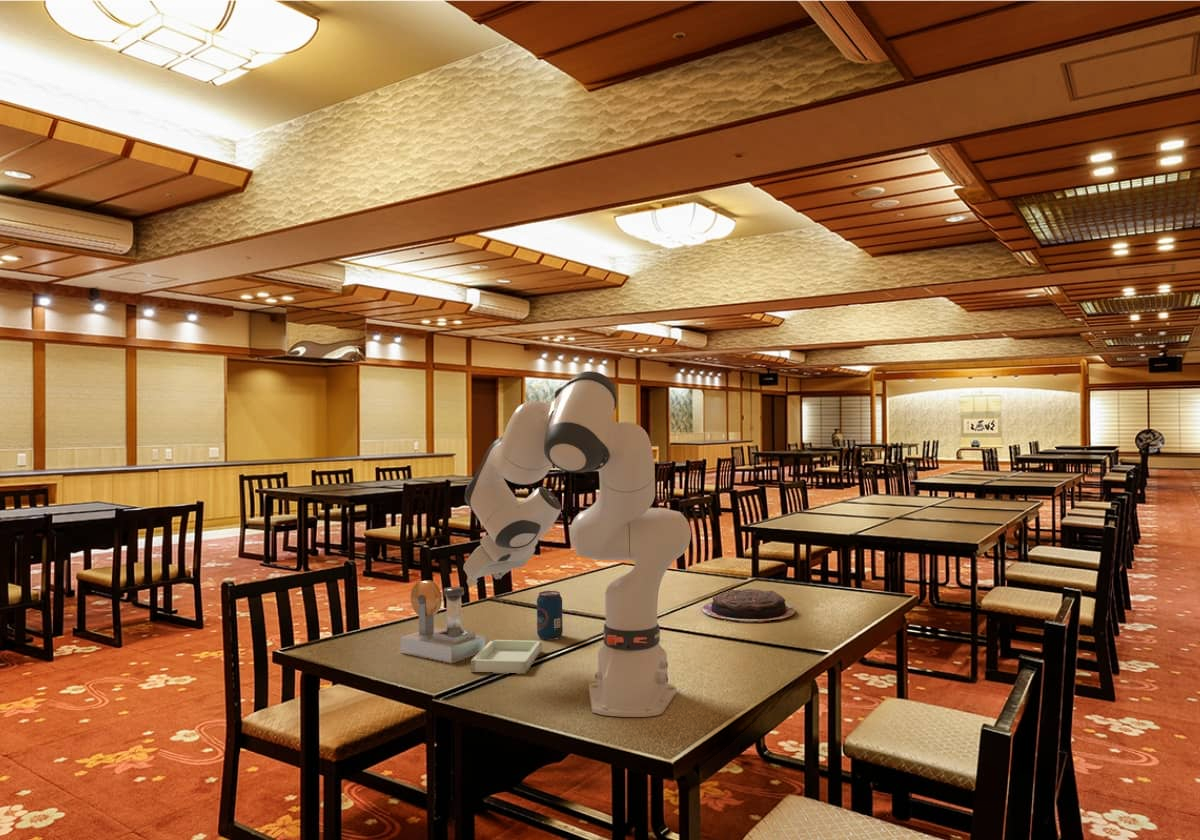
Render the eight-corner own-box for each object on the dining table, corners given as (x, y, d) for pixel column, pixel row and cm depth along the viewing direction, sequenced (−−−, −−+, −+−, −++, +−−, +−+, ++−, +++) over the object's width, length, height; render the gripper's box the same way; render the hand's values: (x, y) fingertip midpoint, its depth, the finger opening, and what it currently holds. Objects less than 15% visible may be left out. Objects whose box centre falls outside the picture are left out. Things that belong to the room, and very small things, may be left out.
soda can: (532, 637, 211) (531, 592, 211) (552, 632, 215) (552, 589, 215) (547, 642, 205) (546, 596, 205) (567, 637, 210) (567, 593, 210)
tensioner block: (485, 651, 197) (484, 582, 197) (451, 663, 187) (450, 591, 187) (431, 641, 208) (430, 575, 208) (396, 651, 198) (396, 583, 198)
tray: (525, 673, 178) (525, 661, 178) (470, 672, 180) (470, 660, 180) (541, 651, 196) (541, 640, 196) (491, 650, 198) (491, 639, 198)
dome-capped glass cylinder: (460, 641, 192) (460, 590, 192) (441, 641, 193) (440, 590, 193) (466, 636, 197) (466, 586, 197) (447, 635, 198) (447, 586, 198)
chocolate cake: (699, 623, 225) (699, 600, 225) (703, 602, 252) (703, 582, 252) (798, 626, 220) (798, 602, 220) (792, 604, 247) (791, 583, 247)
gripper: (533, 527, 193) (504, 563, 199) (477, 538, 176) (447, 577, 181) (548, 546, 191) (517, 582, 196) (493, 559, 174) (461, 598, 179)
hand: (483, 580), depth 189 cm, fingers open, 8 cm apart
